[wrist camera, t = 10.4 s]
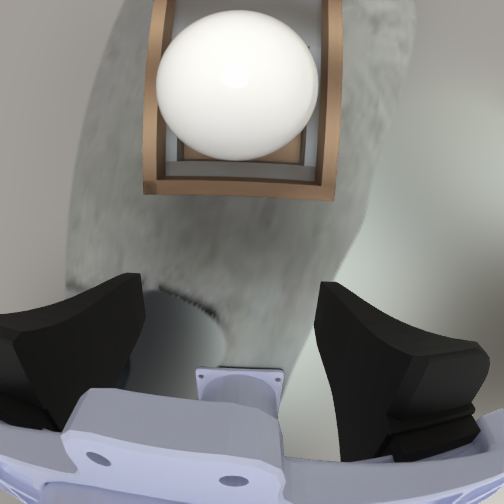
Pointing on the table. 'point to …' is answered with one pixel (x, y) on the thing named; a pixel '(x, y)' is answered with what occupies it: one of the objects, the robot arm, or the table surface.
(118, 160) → the table surface
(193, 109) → the lightbulb
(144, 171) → the socket box
